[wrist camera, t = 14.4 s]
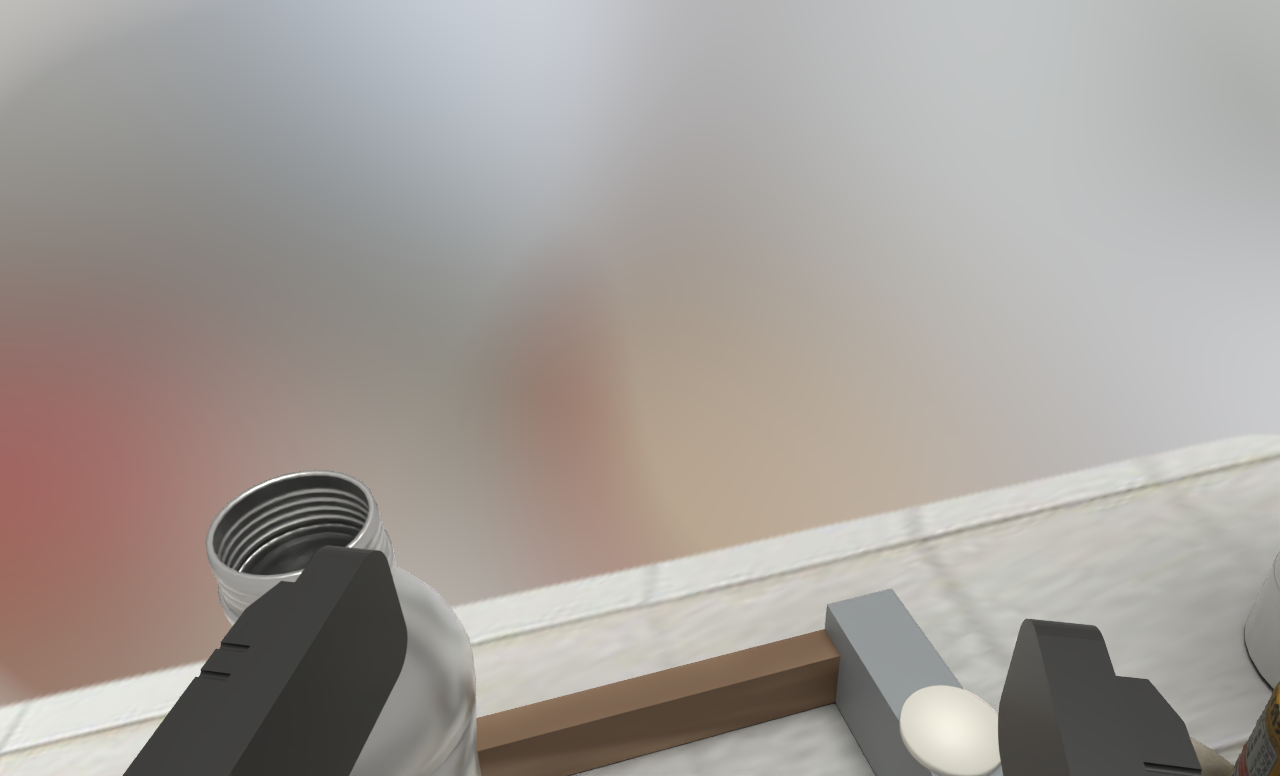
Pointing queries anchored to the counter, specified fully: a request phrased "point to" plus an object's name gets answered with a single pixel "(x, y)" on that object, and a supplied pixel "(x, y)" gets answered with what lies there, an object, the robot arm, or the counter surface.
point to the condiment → (1250, 748)
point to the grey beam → (906, 695)
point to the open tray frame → (660, 709)
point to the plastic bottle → (437, 642)
